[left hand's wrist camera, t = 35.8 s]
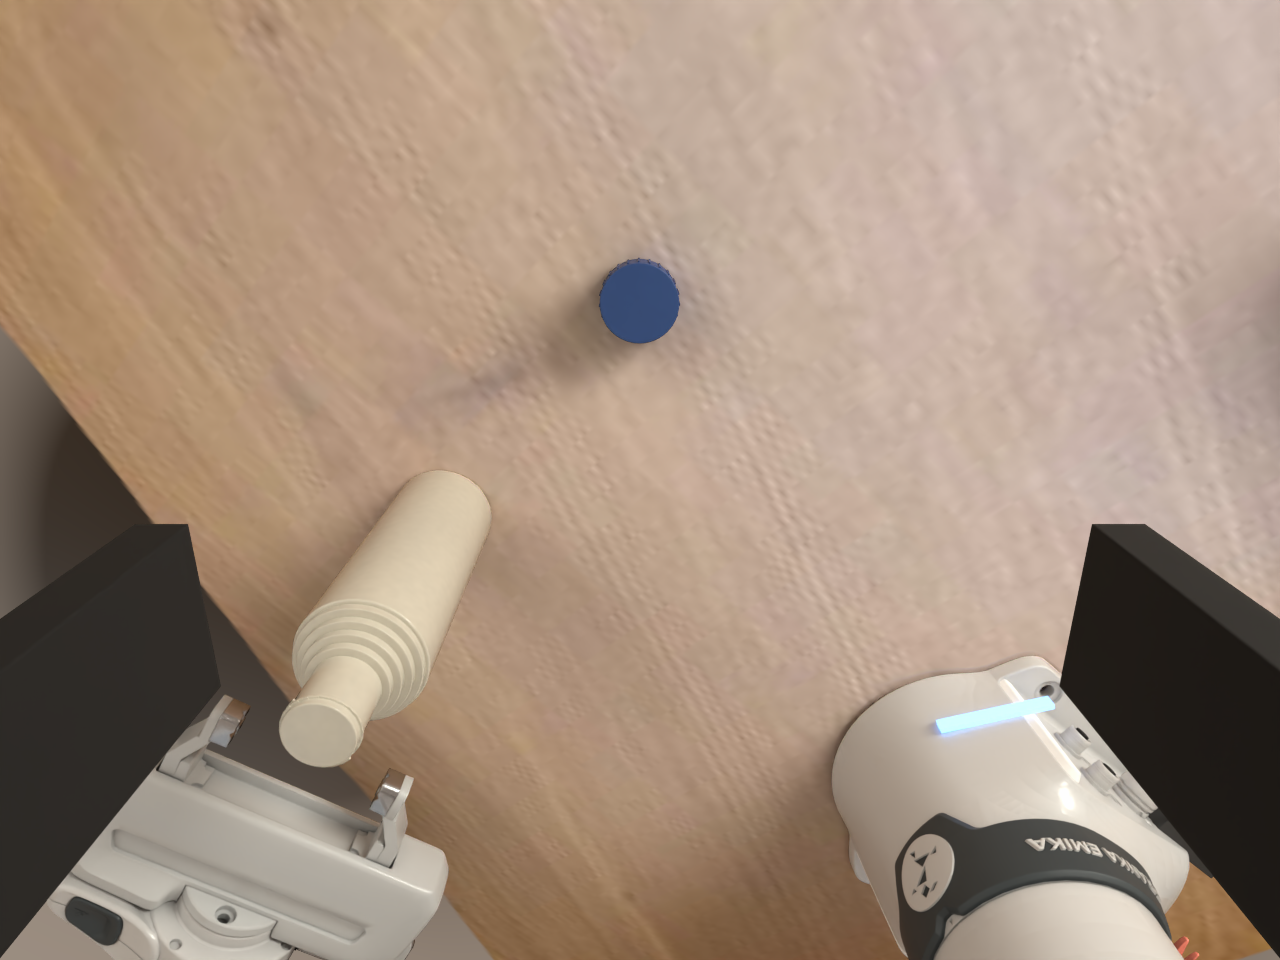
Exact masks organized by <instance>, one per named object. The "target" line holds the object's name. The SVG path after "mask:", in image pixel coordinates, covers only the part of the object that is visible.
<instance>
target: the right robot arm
mask: <svg viewBox="0 0 1280 960" xmlns="http://www.w3.org/2000/svg"><path fill="white" fill-rule="evenodd" d="M1061 675H1062V674H1061V673H1060V672H1059V671H1057V670H1056V669H1055V668H1054V667H1053V666H1052V665H1051V664H1050V663H1048V662H1047V661H1046V660H1045V659H1043V658H1041V657H1038V656H1025V657H1021V658H1017V659H1014V660H1011V661H1009V662H1006V663H1004V664H1001V665H999V666H997V667H994V668H992V669H990V670H986V671H981V672H973V673H957V674H945V675H939V676H933V677H929V678H925V679H922V680H918V681H915V682H913V683H910V684H907V685H905V686H903V687H900V688H898V689H896V690H894V691H893V692H891V693H889V694H887V695H886V696H884V697H882V698H881V699H880V700H878V701H877V702H875V703H874V704H873V705H871V706H870V707H869V708H868V709H867V710H866V711H865V712H863V713H862V714H861V715H860V716H859V718H858V719H857V720H856V721H855V722H854V723H853V724H852V726H851V727H850V728H849V730H848V731H847V733H846V734H845V736H844V738H843V739H842V741H841V743H840V745H839V748H838V750H837V753H836V756H835V759H834V763H833V768H832V792H833V797H834V801H835V804H836V806H837V809H838V811H839V813H840V815H841V817H842V819H843V821H844V823H845V825H846V826H847V829H848V831H849V835H850V838H849V859H850V864H851V866H852V868H853V870H854V873H855V875H856V877H857V878H858V879H859V880H860V881H862V882H864V883H867V884H870V885H871V887H872V889H873V891H874V894H875V896H876V898H877V901H878V903H879V905H880V907H881V910H882V912H883V914H884V916H885V918H886V921H887V923H888V925H889V927H890V929H891V932H892V934H893V936H894V938H895V940H896V942H897V945H898V947H899V948H900V950H901V951H902V952H903V954H904V955H905V956H907V957H908V959H909V960H1196V959H1197V958H1198V956H1199V954H1198V953H1197V952H1194V953H1192V954H1190V955H1189V956H1187V957H1186V958H1184V959H1183V957H1182V954H1183V952H1184V950H1185V948H1186V946H1187V944H1188V942H1189V940H1188V939H1187V938H1186V937H1182V938H1180V939H1179V940H1178V941H1177V942H1176V943H1174V944H1173V943H1172V939H1171V933H1170V930H1169V926H1168V923H1167V920H1166V917H1165V913H1166V912H1167V911H1168V910H1169V909H1170V907H1171V906H1172V904H1173V903H1174V902H1175V900H1176V899H1177V897H1178V896H1179V894H1180V892H1181V891H1182V889H1183V887H1184V884H1185V882H1186V879H1187V875H1188V871H1189V861H1190V862H1191V863H1192V864H1193V865H1195V866H1196V867H1197V868H1199V869H1200V870H1201V871H1202V872H1204V873H1205V874H1206V875H1208V876H1209V877H1210V878H1212V877H1214V876H1213V875H1212V874H1211V873H1210V871H1209V870H1208V869H1207V868H1206V866H1205V865H1204V864H1203V863H1202V862H1201V860H1200V859H1199V858H1198V857H1197V855H1196V854H1195V853H1194V852H1193V850H1192V849H1191V848H1190V847H1189V845H1188V844H1187V843H1186V842H1185V841H1184V839H1183V838H1182V837H1181V836H1180V834H1179V833H1178V832H1177V831H1176V829H1175V828H1174V827H1173V826H1172V825H1171V823H1170V822H1169V821H1168V820H1167V818H1166V817H1165V816H1164V815H1163V813H1162V812H1161V811H1160V810H1159V809H1158V807H1157V806H1156V805H1155V804H1154V802H1153V801H1152V800H1151V799H1150V797H1149V796H1148V795H1147V794H1146V792H1145V791H1144V790H1143V789H1142V788H1141V786H1140V785H1139V784H1138V783H1137V781H1136V780H1135V779H1134V778H1133V776H1132V775H1131V774H1130V773H1129V772H1128V770H1127V769H1126V768H1125V767H1124V765H1123V764H1122V763H1121V762H1120V760H1119V759H1118V758H1117V757H1116V756H1115V754H1114V753H1113V752H1112V751H1111V749H1110V748H1109V747H1108V746H1107V744H1106V743H1105V742H1104V741H1103V739H1102V738H1101V737H1100V736H1099V735H1098V733H1097V732H1096V731H1095V730H1094V728H1093V727H1092V726H1091V725H1090V723H1089V722H1088V721H1087V720H1086V719H1085V717H1084V716H1083V715H1082V714H1081V712H1080V711H1079V710H1078V709H1077V707H1076V706H1075V705H1074V704H1073V703H1072V701H1071V700H1070V699H1069V698H1068V696H1067V695H1066V694H1065V693H1064V691H1063V690H1062V689H1061V688H1060V686H1059V685H1060V680H1061ZM1046 685H1048V687H1047V688H1046V689H1044V690H1040V689H1041V688H1042V687H1043V686H1046ZM250 707H251V706H249V705H247V704H245V703H243V702H241V701H238V700H236V699H234V698H232V697H229V696H227V695H224V696H223V697H222V699H221V700H220V701H219V703H218V704H217V705H216V706H215V708H214V709H213V711H212V712H211V714H210V716H209V717H208V718H206V719H204V720H202V721H200V722H198V723H196V724H195V725H193V726H191V727H189V728H187V729H186V730H185V731H184V732H183V734H182V735H181V736H180V737H179V738H178V739H177V741H176V742H175V743H174V744H173V746H172V747H171V748H170V749H169V751H168V752H167V753H166V754H165V756H164V757H163V758H162V759H161V760H160V762H159V763H158V764H157V765H156V767H155V768H154V769H153V770H152V772H151V773H150V774H149V775H148V776H147V778H146V779H145V780H144V781H143V783H142V784H141V785H140V786H139V788H138V789H137V790H136V791H135V792H134V794H133V795H132V796H131V797H130V799H129V800H128V801H127V802H126V804H125V805H124V806H123V807H122V809H121V810H120V811H119V812H118V813H117V815H116V816H115V817H114V818H113V820H112V821H111V822H110V823H109V825H108V826H107V827H106V828H105V829H104V831H103V832H102V833H101V834H100V836H99V837H98V838H97V839H96V841H95V842H94V843H93V844H92V845H91V847H90V848H89V849H88V850H87V852H86V853H85V854H84V855H83V857H82V858H81V859H80V860H79V862H78V863H77V864H76V865H75V866H74V868H73V869H72V870H71V871H70V873H69V874H68V875H67V876H66V878H65V879H64V880H63V881H62V882H61V884H60V885H59V886H58V887H57V889H56V890H55V891H54V892H53V894H52V895H51V896H50V897H49V898H48V900H47V905H48V907H49V908H50V910H51V911H52V912H53V913H54V914H56V915H57V916H58V917H60V918H61V919H63V920H64V921H66V922H67V923H69V924H70V925H72V926H73V927H75V928H76V929H77V930H79V931H80V932H82V933H83V934H84V935H86V936H87V937H88V938H90V939H91V940H93V941H94V942H95V943H96V944H97V945H99V946H100V947H101V948H102V949H103V950H104V951H106V952H107V953H108V954H109V955H110V956H111V957H112V958H113V959H114V960H289V958H290V956H291V954H292V953H293V951H294V950H296V949H297V950H299V951H300V950H301V952H304V953H307V954H309V955H312V956H314V957H317V958H320V959H323V960H405V959H406V957H407V956H408V954H409V953H410V951H411V950H412V948H413V946H414V942H415V938H416V937H417V936H418V935H419V934H420V933H421V931H422V930H423V929H424V928H425V926H426V925H427V924H428V923H429V921H430V920H431V919H432V917H433V916H434V914H435V913H436V911H437V909H438V907H439V905H440V902H441V899H442V896H443V893H444V889H445V886H446V882H447V877H448V871H449V867H448V864H447V860H446V857H445V854H444V852H443V851H442V850H441V849H439V848H437V847H435V846H432V845H430V844H428V843H425V842H423V841H420V840H418V839H416V838H413V837H411V836H409V835H406V834H405V831H406V828H407V826H408V821H407V814H406V808H405V800H406V798H407V796H408V794H409V791H410V788H411V786H412V783H413V780H414V778H413V777H410V776H408V775H406V774H403V773H401V772H398V771H396V770H393V769H391V768H389V769H388V771H387V773H386V775H385V778H383V780H382V782H381V783H380V785H379V787H378V789H377V792H376V794H375V797H374V799H373V801H372V804H371V806H370V808H369V810H371V811H373V812H375V813H378V814H380V815H382V819H383V820H382V822H381V823H378V822H376V821H374V820H372V819H369V818H367V817H364V816H362V815H360V814H357V813H355V812H353V811H351V810H348V809H346V808H344V807H341V806H339V805H337V804H334V803H332V802H330V801H327V800H325V799H323V798H320V797H318V796H316V795H313V794H311V793H309V792H306V791H304V790H302V789H299V788H297V787H295V786H292V785H290V784H288V783H285V782H283V781H281V780H278V779H276V778H274V777H271V776H269V775H267V774H264V773H262V772H260V771H257V770H255V769H253V768H250V767H248V766H246V765H243V764H241V763H239V762H236V761H234V760H232V759H229V758H227V757H225V756H222V755H220V754H218V753H215V752H213V751H211V750H208V749H206V748H207V746H208V744H209V743H211V742H213V743H215V744H218V745H220V746H223V747H225V748H226V747H227V746H228V745H229V743H230V742H231V740H232V739H233V737H234V735H236V733H237V732H238V730H239V729H240V728H241V726H242V724H243V722H244V720H245V716H246V715H247V713H248V712H249V710H250Z"/></svg>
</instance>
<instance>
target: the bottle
mask: <svg viewBox="0 0 1280 960" xmlns="http://www.w3.org/2000/svg"><path fill="white" fill-rule="evenodd" d="M491 522H492V516H491V509H490V505H489V503H488V500H487V498H486V496H485V495H484V493H483V492H482V491H481V489H480V488H479V487H478V486H477V485H476V484H475V483H473V482H472V481H471V480H469V479H468V478H466V477H464V476H462V475H460V474H457V473H454V472H450V471H443V470H435V471H428V472H425V473H422V474H419V475H417V476H415V477H414V478H412V479H411V480H409V481H408V482H407V483H406V484H405V485H404V486H403V488H402V489H401V490H400V492H399V493H398V494H397V496H396V497H395V498H394V500H393V501H392V502H391V504H390V505H389V506H388V508H387V509H386V510H385V512H384V513H383V514H382V516H381V517H380V518H379V520H378V521H377V522H376V524H375V525H374V526H373V528H372V529H371V530H370V532H369V533H368V535H367V536H366V537H365V539H364V540H363V541H362V543H361V544H360V545H359V547H358V548H357V549H356V551H355V552H354V553H353V555H352V556H351V557H350V559H349V560H348V561H347V563H346V564H345V565H344V567H343V568H342V569H341V571H340V572H339V573H338V575H337V576H336V577H335V579H334V580H333V581H332V583H331V584H330V585H329V587H328V588H327V589H326V591H325V592H324V593H323V595H322V596H321V597H320V599H319V600H318V601H317V603H316V604H315V606H314V607H313V608H312V610H311V611H310V612H309V614H308V615H307V616H306V618H305V619H304V620H303V622H302V623H301V625H300V626H299V628H298V630H297V632H296V635H295V638H294V642H293V652H292V665H293V670H294V673H295V676H296V679H297V681H298V683H299V685H300V686H301V688H302V689H301V691H300V692H299V694H298V695H297V697H296V699H293V700H292V701H291V702H290V703H289V705H288V706H287V708H286V709H285V710H284V712H283V714H282V716H281V719H280V722H279V733H280V738H281V741H282V744H283V745H284V747H285V749H286V750H287V751H288V752H289V753H290V754H291V755H292V756H293V757H294V758H296V759H297V760H299V761H300V762H302V763H305V764H307V765H310V766H315V767H323V768H324V767H335V766H338V765H341V764H344V763H346V762H347V761H349V760H350V759H351V757H350V756H351V755H352V754H353V753H354V752H355V751H356V750H357V749H358V748H359V746H360V744H361V742H362V740H363V735H364V731H365V729H366V727H367V725H368V722H369V721H372V720H379V719H383V718H387V717H390V716H392V715H394V714H396V713H398V712H400V711H401V710H403V709H404V708H406V707H407V706H408V705H409V704H411V703H412V702H413V701H414V700H415V699H416V698H417V697H418V696H419V695H420V694H421V692H422V691H423V689H424V687H425V686H426V684H427V681H428V679H429V676H430V674H431V672H432V669H433V667H434V664H435V662H436V659H437V657H438V655H439V652H440V650H441V647H442V645H443V643H444V640H445V638H446V635H447V633H448V631H449V628H450V626H451V623H452V621H453V619H454V616H455V614H456V611H457V609H458V607H459V604H460V602H461V599H462V597H463V594H464V592H465V590H466V587H467V585H468V582H469V580H470V578H471V575H472V573H473V570H474V568H475V566H476V563H477V561H478V558H479V556H480V554H481V551H482V549H483V546H484V544H485V541H486V539H487V537H488V534H489V532H490V528H491Z"/></svg>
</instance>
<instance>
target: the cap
mask: <svg viewBox="0 0 1280 960" xmlns="http://www.w3.org/2000/svg"><path fill="white" fill-rule="evenodd" d="M675 284H676V283H675V280H674V279H672V277H671V275H670V274H669V271H668V270H667V271H666V270H665V269H664V268H663V267H662V266H660V263H659V264H657V263H655V262H653V261H650V259H649V260H645V259H640V258H638V259H634V260H629V259H628V260H627V261H626V262H624V263H622V264H620V265H619V264H618V265H617V267H616V268H615V269H614V270H612V272H611V271H610V272H609V275H608V277H607V278H606V280H604V282H603V288H602V290H601V291H600V295H599V296H600V304H599V307H600V311H601V315H602V318H603V320H604V322H605V324H606V326H607V327H608V328H609V329H610V331H611V332H612V333H613V334H615V335H616V336H617V337H619V338H621V339H623V340H625V341H628V342H632V343H647V342H651V341H654V340H656V339H658V338H660V337H661V336H663V335H664V334H665V333H666V332H668V330H669V329H670V328H671V327H672V326H673V324H674V322H675V320H676V317H677V316H678V310H679V306H680V303H679V297H678V295H679V291H678V289H676V286H675Z"/></svg>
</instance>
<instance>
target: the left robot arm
mask: <svg viewBox="0 0 1280 960" xmlns="http://www.w3.org/2000/svg"><path fill="white" fill-rule="evenodd" d="M220 686H221V685H220V680H219V675H218V670H217V665H216V660H215V655H214V650H213V645H212V641H211V636H210V631H209V626H208V621H207V616H206V611H205V606H204V601H203V596H202V591H201V586H200V581H199V576H198V571H197V567H196V562H195V557H194V552H193V547H192V542H191V537H190V532H189V527H188V524H135V525H133V526H132V527H130V528H129V529H128V530H126V531H125V532H123V533H122V534H120V535H119V536H118V537H116V538H115V539H113V540H112V541H111V542H109V543H108V544H106V545H105V546H103V547H102V548H101V549H99V550H98V551H96V552H95V553H93V554H92V555H91V556H89V557H88V558H86V559H85V560H83V561H82V562H81V563H79V564H78V565H76V566H75V567H73V568H72V569H71V570H69V571H68V572H66V573H65V574H64V575H62V576H61V577H59V578H58V579H56V580H55V581H54V582H52V583H51V584H49V585H48V586H46V587H45V588H44V589H42V590H41V591H39V592H38V593H37V594H35V595H34V596H32V597H31V598H29V599H28V600H27V601H25V602H24V603H22V604H21V605H19V606H18V607H17V608H15V609H14V610H12V611H11V612H9V613H8V614H7V615H5V616H4V617H2V618H1V619H0V958H1V956H2V955H3V954H4V953H5V951H6V950H7V949H8V948H9V947H10V945H11V944H12V943H13V942H14V940H15V939H16V938H17V937H18V935H19V934H20V933H21V932H22V931H23V929H24V928H25V927H26V926H27V924H28V923H29V922H30V921H31V919H32V918H33V917H34V916H35V915H36V913H37V912H38V911H39V910H40V908H41V907H42V906H43V905H44V903H45V902H46V901H47V900H48V898H49V897H50V896H51V895H52V894H53V892H54V891H55V890H56V889H57V887H58V886H59V885H60V884H61V882H62V881H63V880H64V879H65V878H66V876H67V875H68V874H69V873H70V871H71V870H72V869H73V868H74V866H75V865H76V864H77V863H78V862H79V860H80V859H81V858H82V857H83V855H84V854H85V853H86V852H87V850H88V849H89V848H90V847H91V845H92V844H93V843H94V842H95V841H96V839H97V838H98V837H99V836H100V834H101V833H102V832H103V831H104V829H105V828H106V827H107V826H108V825H109V823H110V822H111V821H112V820H113V818H114V817H115V816H116V815H117V813H118V812H119V811H120V810H121V809H122V807H123V806H124V805H125V804H126V802H127V801H128V800H129V799H130V797H131V796H132V795H133V794H134V792H135V791H136V790H137V789H138V788H139V786H140V785H141V784H142V783H143V781H144V780H145V779H146V778H147V776H148V775H149V774H150V773H151V772H152V770H153V769H154V768H155V767H156V765H157V764H158V763H159V762H160V760H161V759H162V758H163V757H164V756H165V754H166V753H167V752H168V751H169V749H170V748H171V747H172V746H173V744H174V743H175V742H176V741H177V739H178V738H179V737H180V736H181V735H182V733H183V732H184V731H185V730H186V728H187V727H188V726H189V725H190V723H191V722H192V721H193V720H194V719H195V717H196V716H197V715H198V714H199V712H200V711H201V710H202V709H203V707H204V706H205V705H206V704H207V703H208V701H209V700H210V699H211V698H212V696H213V695H214V694H215V693H216V691H217V690H218V689H219V688H220ZM1059 686H1060V688H1061V689H1062V690H1063V691H1064V693H1065V694H1066V695H1067V696H1068V698H1069V699H1070V700H1071V701H1072V703H1073V704H1074V705H1075V706H1076V707H1077V709H1078V710H1079V711H1080V712H1081V714H1082V715H1083V716H1084V717H1085V719H1086V720H1087V721H1088V722H1089V723H1090V725H1091V726H1092V727H1093V728H1094V730H1095V731H1096V732H1097V733H1098V735H1099V736H1100V737H1101V738H1102V739H1103V741H1104V742H1105V743H1106V744H1107V746H1108V747H1109V748H1110V749H1111V751H1112V752H1113V753H1114V754H1115V756H1116V757H1117V758H1118V759H1119V760H1120V762H1121V763H1122V764H1123V765H1124V767H1125V768H1126V769H1127V770H1128V772H1129V773H1130V774H1131V775H1132V776H1133V778H1134V779H1135V780H1136V781H1137V783H1138V784H1139V785H1140V786H1141V788H1142V789H1143V790H1144V791H1145V792H1146V794H1147V795H1148V796H1149V797H1150V799H1151V800H1152V801H1153V802H1154V804H1155V805H1156V806H1157V807H1158V809H1159V810H1160V811H1161V812H1162V813H1163V815H1164V816H1165V817H1166V818H1167V820H1168V821H1169V822H1170V823H1171V825H1172V826H1173V827H1174V828H1175V829H1176V831H1177V832H1178V833H1179V834H1180V836H1181V837H1182V838H1183V839H1184V841H1185V842H1186V843H1187V844H1188V845H1189V847H1190V848H1191V849H1192V850H1193V852H1194V853H1195V854H1196V855H1197V857H1198V858H1199V859H1200V860H1201V862H1202V863H1203V864H1204V865H1205V866H1206V868H1207V869H1208V870H1209V871H1210V873H1211V874H1212V875H1213V876H1214V878H1215V879H1216V880H1217V881H1218V882H1219V884H1220V885H1221V886H1222V887H1223V889H1224V890H1225V891H1226V892H1227V894H1228V895H1229V896H1230V897H1231V898H1232V900H1233V901H1234V902H1235V903H1236V905H1237V906H1238V907H1239V908H1240V910H1241V911H1242V912H1243V913H1244V915H1245V916H1246V917H1247V918H1248V919H1249V921H1250V922H1251V923H1252V924H1253V926H1254V927H1255V928H1256V929H1257V931H1258V932H1259V933H1260V934H1261V935H1262V937H1263V938H1264V939H1265V940H1266V942H1267V943H1268V944H1269V945H1270V947H1271V948H1272V949H1273V950H1274V951H1275V953H1276V954H1277V955H1278V956H1279V958H1280V619H1279V618H1278V617H1276V616H1275V615H1273V614H1272V613H1271V612H1269V611H1268V610H1266V609H1265V608H1263V607H1262V606H1261V605H1259V604H1258V603H1256V602H1255V601H1253V600H1252V599H1251V598H1249V597H1248V596H1246V595H1245V594H1244V593H1242V592H1241V591H1239V590H1238V589H1236V588H1235V587H1234V586H1232V585H1231V584H1229V583H1228V582H1226V581H1225V580H1224V579H1222V578H1221V577H1219V576H1218V575H1216V574H1215V573H1214V572H1212V571H1211V570H1209V569H1208V568H1207V567H1205V566H1204V565H1202V564H1201V563H1199V562H1198V561H1197V560H1195V559H1194V558H1192V557H1191V556H1189V555H1188V554H1187V553H1185V552H1184V551H1182V550H1181V549H1179V548H1178V547H1177V546H1175V545H1174V544H1172V543H1171V542H1170V541H1168V540H1167V539H1165V538H1164V537H1162V536H1161V535H1160V534H1158V533H1157V532H1155V531H1154V530H1152V529H1151V528H1150V527H1148V526H1147V525H1145V524H1092V527H1091V532H1090V537H1089V542H1088V547H1087V552H1086V557H1085V562H1084V567H1083V571H1082V576H1081V581H1080V586H1079V591H1078V596H1077V601H1076V606H1075V611H1074V616H1073V621H1072V626H1071V631H1070V636H1069V641H1068V645H1067V650H1066V655H1065V660H1064V665H1063V670H1062V675H1061V680H1060V685H1059Z"/></svg>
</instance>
